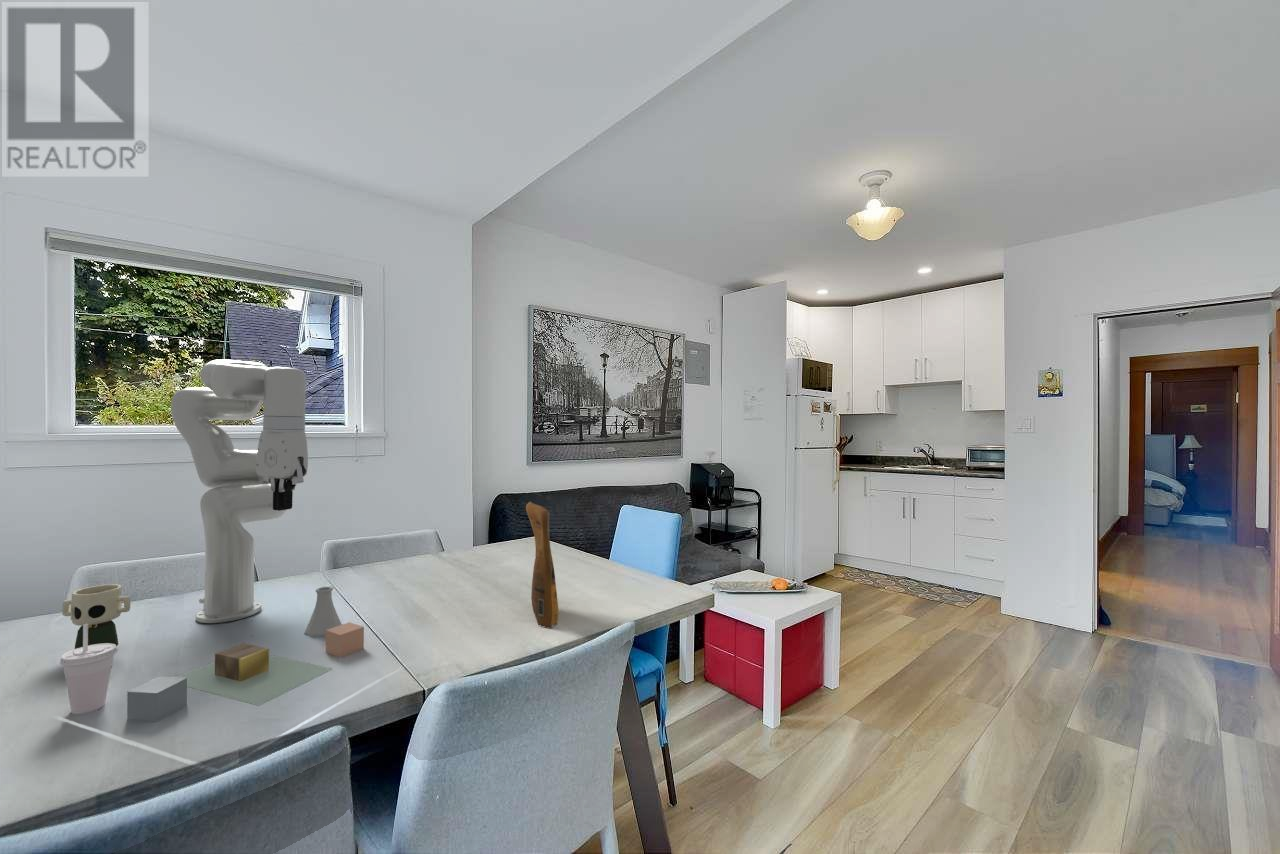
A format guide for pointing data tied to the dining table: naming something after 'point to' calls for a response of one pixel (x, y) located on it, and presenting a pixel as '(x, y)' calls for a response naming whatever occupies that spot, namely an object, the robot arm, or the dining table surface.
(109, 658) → the smoothie
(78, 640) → the character mug
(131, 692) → the slate block
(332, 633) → the terracotta block
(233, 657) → the walnut block
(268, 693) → the rubber mat
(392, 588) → the dining table surface
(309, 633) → the flask
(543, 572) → the pancake mix bag
